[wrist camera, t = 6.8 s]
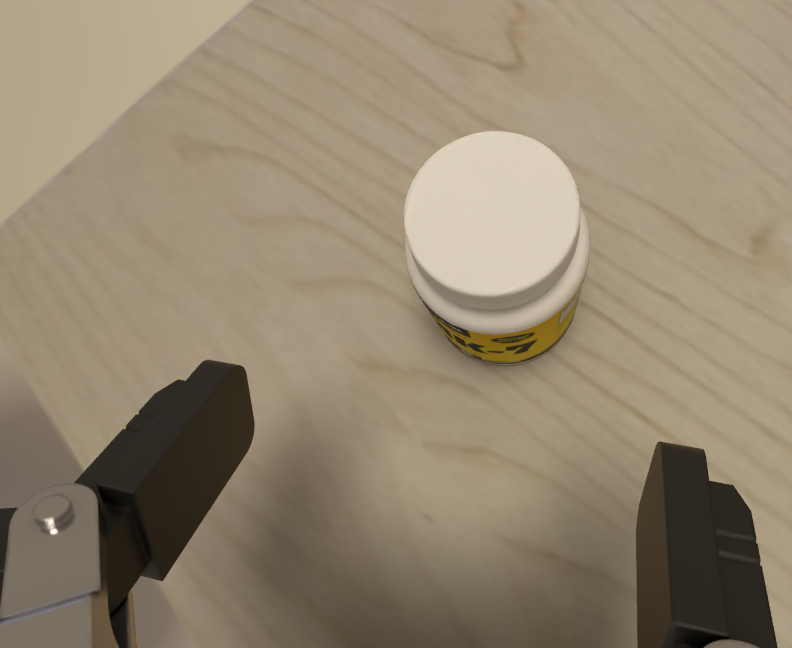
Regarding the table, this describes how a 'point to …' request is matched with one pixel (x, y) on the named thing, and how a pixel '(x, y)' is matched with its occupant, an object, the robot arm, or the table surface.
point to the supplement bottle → (497, 245)
